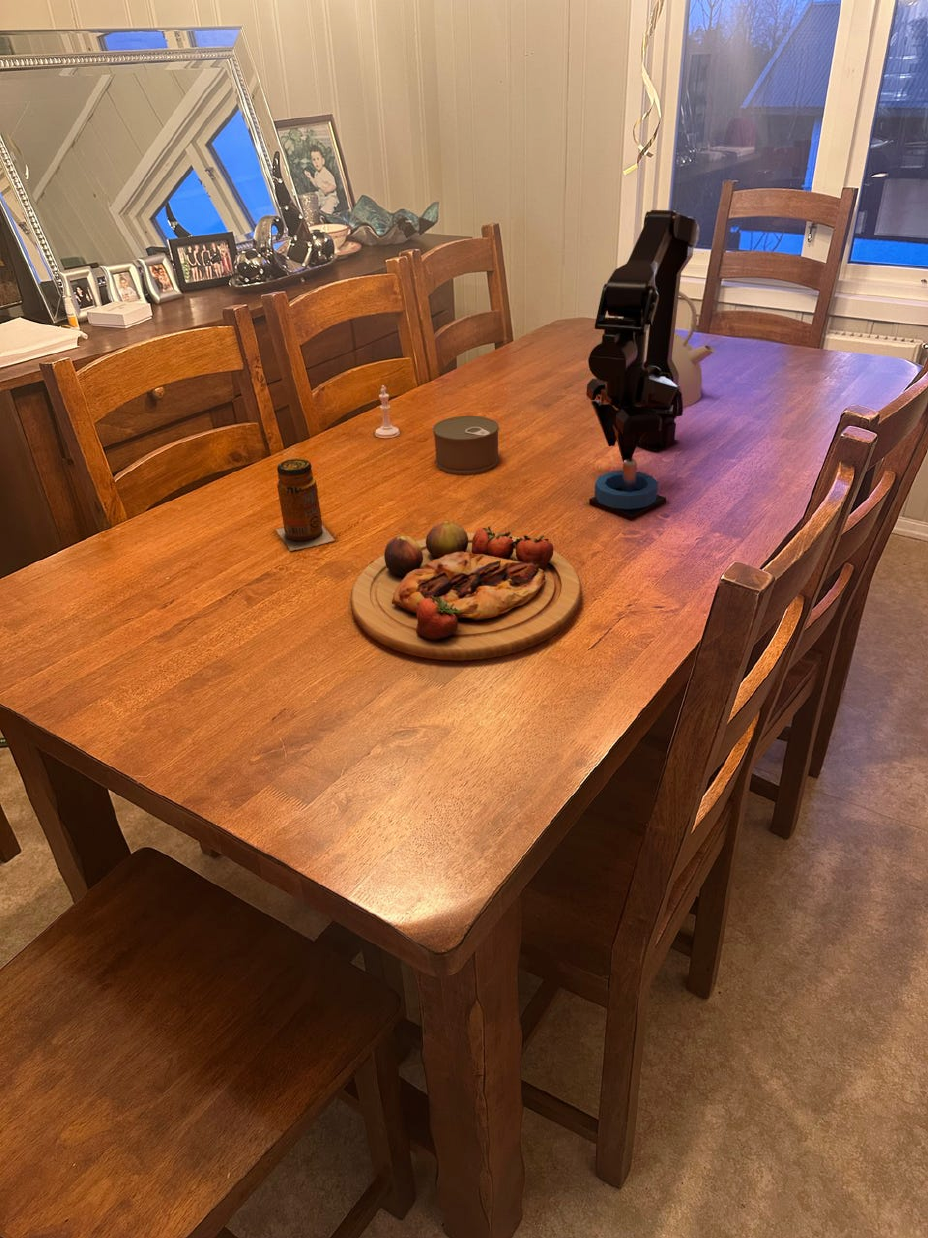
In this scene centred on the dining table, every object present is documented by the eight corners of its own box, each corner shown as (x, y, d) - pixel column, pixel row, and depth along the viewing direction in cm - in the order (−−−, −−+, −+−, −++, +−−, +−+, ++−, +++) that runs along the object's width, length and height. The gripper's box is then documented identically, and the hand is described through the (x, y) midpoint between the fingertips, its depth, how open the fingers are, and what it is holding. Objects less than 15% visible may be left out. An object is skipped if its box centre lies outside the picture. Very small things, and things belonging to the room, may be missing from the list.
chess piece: (371, 436, 176) (366, 388, 170) (382, 428, 179) (377, 380, 174) (393, 439, 174) (388, 390, 168) (403, 430, 178) (399, 382, 172)
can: (467, 445, 170) (465, 410, 166) (512, 460, 162) (512, 424, 158) (422, 463, 163) (419, 428, 159) (467, 480, 155) (465, 444, 152)
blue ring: (582, 496, 145) (583, 483, 144) (621, 478, 151) (622, 465, 150) (630, 514, 139) (631, 501, 138) (668, 495, 144) (669, 481, 143)
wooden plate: (509, 694, 103) (508, 636, 98) (303, 624, 118) (294, 571, 113) (618, 574, 125) (621, 522, 121) (434, 528, 140) (431, 480, 136)
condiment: (318, 520, 144) (308, 452, 138) (335, 541, 138) (325, 470, 131) (275, 531, 142) (263, 462, 135) (290, 552, 135) (278, 481, 129)
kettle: (725, 386, 192) (739, 279, 180) (689, 418, 176) (701, 303, 164) (620, 372, 204) (626, 270, 192) (577, 401, 188) (581, 292, 176)
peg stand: (589, 504, 145) (590, 458, 141) (623, 487, 150) (626, 443, 146) (631, 520, 139) (635, 473, 135) (666, 503, 144) (670, 457, 140)
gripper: (698, 374, 130) (687, 470, 139) (651, 338, 145) (643, 427, 154) (628, 382, 128) (621, 479, 137) (587, 345, 143) (583, 434, 152)
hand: (618, 453), depth 145 cm, fingers open, 7 cm apart
